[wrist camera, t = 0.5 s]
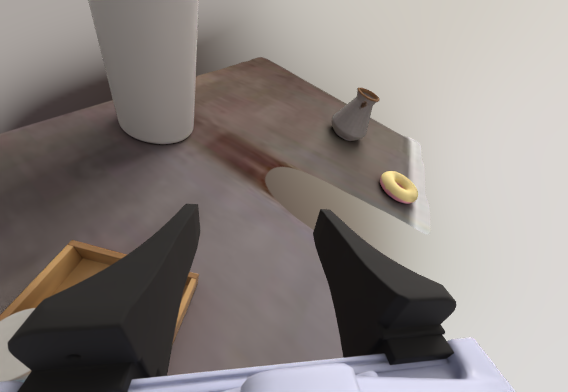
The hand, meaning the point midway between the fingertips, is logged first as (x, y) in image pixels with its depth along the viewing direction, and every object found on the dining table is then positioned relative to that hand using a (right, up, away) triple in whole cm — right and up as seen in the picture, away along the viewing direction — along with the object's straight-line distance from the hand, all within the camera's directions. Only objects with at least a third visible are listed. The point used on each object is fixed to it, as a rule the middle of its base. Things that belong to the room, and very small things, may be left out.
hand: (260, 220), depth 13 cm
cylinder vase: (-23, +15, +29) cm, 40 cm away
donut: (+30, +3, +43) cm, 53 cm away
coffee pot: (+18, +18, +51) cm, 58 cm away
